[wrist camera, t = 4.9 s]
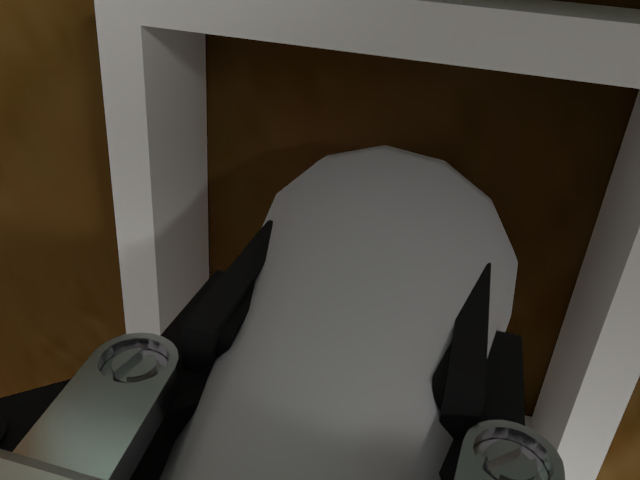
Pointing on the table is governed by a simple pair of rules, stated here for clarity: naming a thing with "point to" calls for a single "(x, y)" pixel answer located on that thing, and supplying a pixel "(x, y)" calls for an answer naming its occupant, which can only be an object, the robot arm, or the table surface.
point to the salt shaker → (350, 326)
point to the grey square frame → (390, 41)
